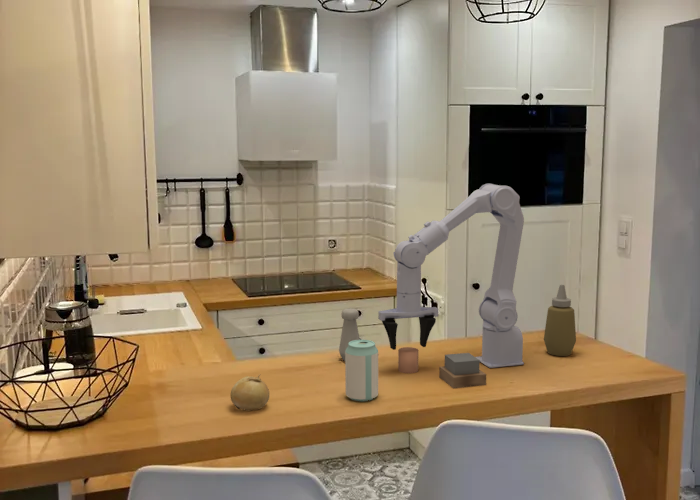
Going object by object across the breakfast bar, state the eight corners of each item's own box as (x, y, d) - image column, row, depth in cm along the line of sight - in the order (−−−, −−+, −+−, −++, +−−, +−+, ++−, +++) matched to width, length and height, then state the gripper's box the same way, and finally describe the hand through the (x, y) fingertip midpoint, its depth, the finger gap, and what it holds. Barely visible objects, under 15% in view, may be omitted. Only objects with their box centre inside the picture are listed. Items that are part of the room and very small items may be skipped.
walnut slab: (470, 375, 169) (470, 363, 168) (486, 387, 161) (486, 374, 161) (439, 379, 167) (439, 366, 166) (453, 390, 159) (453, 377, 159)
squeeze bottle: (579, 351, 186) (582, 284, 183) (570, 360, 179) (573, 289, 176) (548, 347, 190) (550, 280, 187) (539, 355, 183) (541, 286, 180)
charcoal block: (468, 365, 167) (468, 352, 167) (479, 373, 162) (479, 360, 161) (444, 367, 166) (444, 354, 166) (454, 375, 160) (454, 362, 160)
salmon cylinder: (413, 366, 175) (414, 346, 174) (421, 372, 170) (421, 352, 170) (395, 368, 174) (395, 348, 173) (402, 374, 169) (402, 353, 168)
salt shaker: (362, 356, 183) (362, 306, 181) (361, 363, 177) (360, 312, 175) (340, 355, 183) (339, 306, 181) (337, 362, 178) (337, 311, 176)
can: (341, 393, 156) (340, 340, 154) (370, 389, 159) (370, 337, 157) (352, 404, 150) (352, 349, 148) (383, 400, 152) (383, 345, 150)
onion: (233, 416, 144) (232, 382, 143) (228, 402, 151) (227, 370, 150) (272, 412, 146) (272, 378, 145) (266, 398, 154) (265, 367, 152)
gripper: (430, 286, 175) (429, 340, 177) (374, 290, 171) (374, 345, 173) (442, 292, 168) (441, 348, 170) (383, 296, 164) (383, 353, 166)
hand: (408, 347), depth 171 cm, fingers open, 7 cm apart
